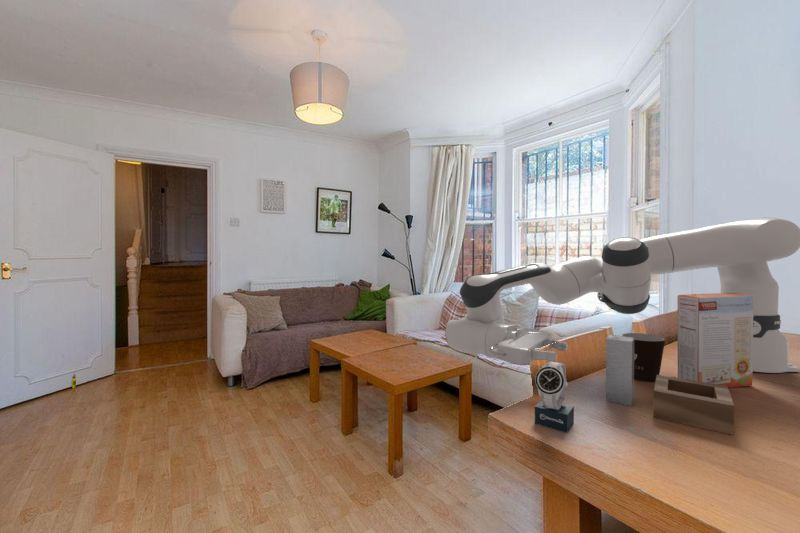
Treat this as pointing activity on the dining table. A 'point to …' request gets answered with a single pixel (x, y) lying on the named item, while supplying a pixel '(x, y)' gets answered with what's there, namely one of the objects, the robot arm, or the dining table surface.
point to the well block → (694, 403)
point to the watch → (553, 398)
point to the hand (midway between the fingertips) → (561, 351)
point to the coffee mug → (647, 356)
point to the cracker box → (716, 338)
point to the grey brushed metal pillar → (620, 369)
